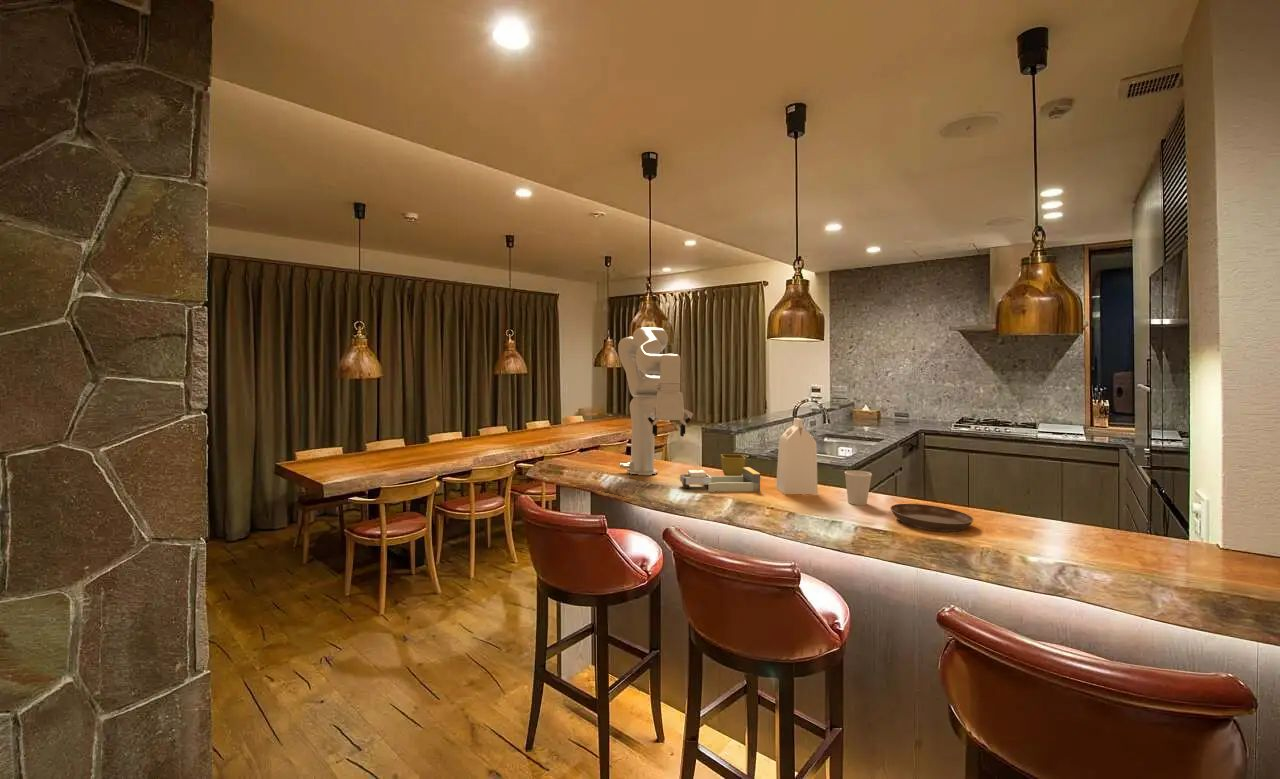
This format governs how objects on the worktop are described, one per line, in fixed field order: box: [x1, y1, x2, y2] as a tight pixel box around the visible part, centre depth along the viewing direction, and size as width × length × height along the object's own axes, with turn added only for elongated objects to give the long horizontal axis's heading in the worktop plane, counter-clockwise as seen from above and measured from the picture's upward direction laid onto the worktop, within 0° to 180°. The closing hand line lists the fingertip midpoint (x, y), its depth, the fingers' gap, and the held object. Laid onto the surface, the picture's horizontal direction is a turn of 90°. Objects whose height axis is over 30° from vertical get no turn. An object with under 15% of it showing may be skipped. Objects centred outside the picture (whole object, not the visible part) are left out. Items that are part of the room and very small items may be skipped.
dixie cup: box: [844, 470, 873, 506], centre depth 172 cm, size 8×8×10 cm
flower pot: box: [720, 453, 747, 476], centre depth 210 cm, size 9×9×9 cm
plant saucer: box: [890, 503, 974, 532], centre depth 150 cm, size 21×21×3 cm
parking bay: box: [707, 466, 761, 493], centre depth 192 cm, size 19×15×6 cm
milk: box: [775, 417, 819, 496], centre depth 188 cm, size 12×12×26 cm
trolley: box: [679, 469, 712, 490], centre depth 191 cm, size 10×7×6 cm
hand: (668, 436), depth 190 cm, fingers open, 9 cm apart
